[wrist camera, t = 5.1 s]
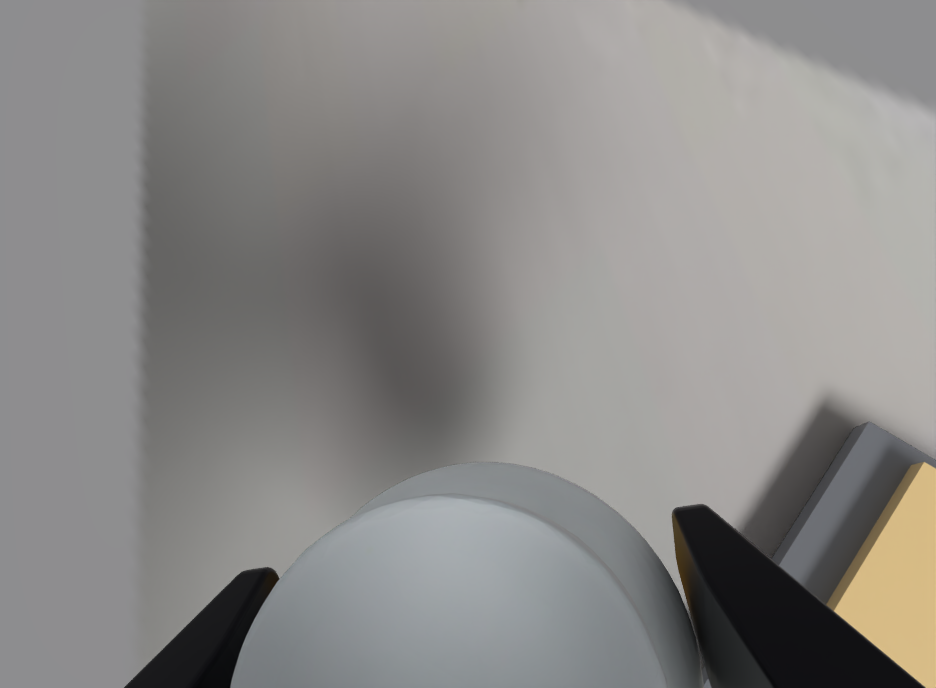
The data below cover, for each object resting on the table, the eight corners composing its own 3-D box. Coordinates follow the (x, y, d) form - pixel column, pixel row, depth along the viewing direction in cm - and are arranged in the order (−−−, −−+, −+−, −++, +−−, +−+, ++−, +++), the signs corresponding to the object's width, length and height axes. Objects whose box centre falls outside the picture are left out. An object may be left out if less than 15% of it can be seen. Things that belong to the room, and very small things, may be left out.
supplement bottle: (470, 808, 14) (250, 1291, 5) (371, 563, 16) (77, 578, 7) (702, 690, 14) (923, 953, 5) (576, 457, 16) (562, 326, 7)
